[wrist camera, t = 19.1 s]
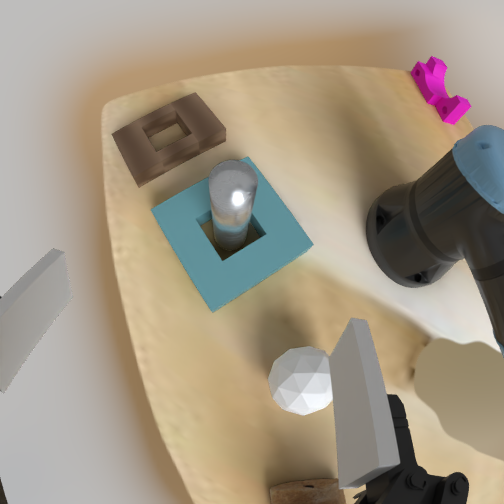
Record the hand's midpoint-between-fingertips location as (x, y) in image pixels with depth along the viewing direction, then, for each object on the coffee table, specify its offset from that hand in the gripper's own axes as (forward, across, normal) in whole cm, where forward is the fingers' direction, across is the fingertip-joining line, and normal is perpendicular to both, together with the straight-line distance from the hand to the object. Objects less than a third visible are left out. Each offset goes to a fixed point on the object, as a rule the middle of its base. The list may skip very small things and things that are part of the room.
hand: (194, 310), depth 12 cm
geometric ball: (+13, -11, +19) cm, 25 cm away
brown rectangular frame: (+32, +13, 0) cm, 35 cm away
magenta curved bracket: (+55, -35, -21) cm, 69 cm away
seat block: (+24, +1, +8) cm, 25 cm away
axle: (+24, +1, +8) cm, 25 cm away
